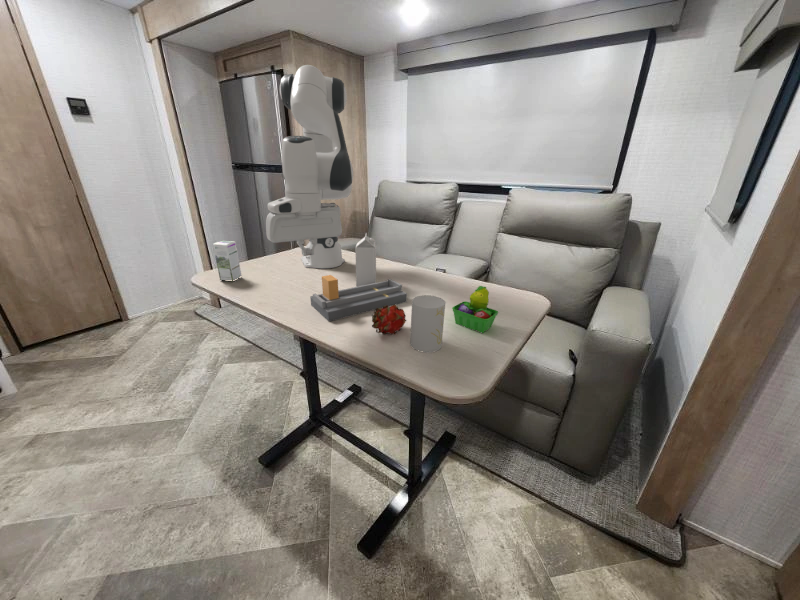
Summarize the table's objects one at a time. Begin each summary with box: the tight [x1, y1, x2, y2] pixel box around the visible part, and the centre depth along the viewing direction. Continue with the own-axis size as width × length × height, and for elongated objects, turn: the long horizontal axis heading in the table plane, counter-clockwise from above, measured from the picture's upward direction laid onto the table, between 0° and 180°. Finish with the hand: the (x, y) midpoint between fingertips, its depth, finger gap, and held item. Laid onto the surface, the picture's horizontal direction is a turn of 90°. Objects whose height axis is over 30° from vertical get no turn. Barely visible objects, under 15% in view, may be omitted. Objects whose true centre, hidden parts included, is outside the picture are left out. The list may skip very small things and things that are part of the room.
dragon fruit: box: [371, 304, 407, 336], centre depth 88 cm, size 8×8×12 cm
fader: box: [321, 274, 340, 302], centre depth 99 cm, size 5×4×7 cm
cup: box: [409, 294, 446, 353], centre depth 82 cm, size 8×8×12 cm
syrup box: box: [212, 240, 243, 281], centre depth 122 cm, size 6×6×14 cm
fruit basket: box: [451, 285, 499, 334], centre depth 93 cm, size 11×9×11 cm
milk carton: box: [354, 232, 377, 287], centre depth 120 cm, size 7×7×19 cm
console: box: [310, 278, 408, 322], centre depth 106 cm, size 14×29×5 cm, turn 125°
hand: (308, 255), depth 91 cm, fingers closed
